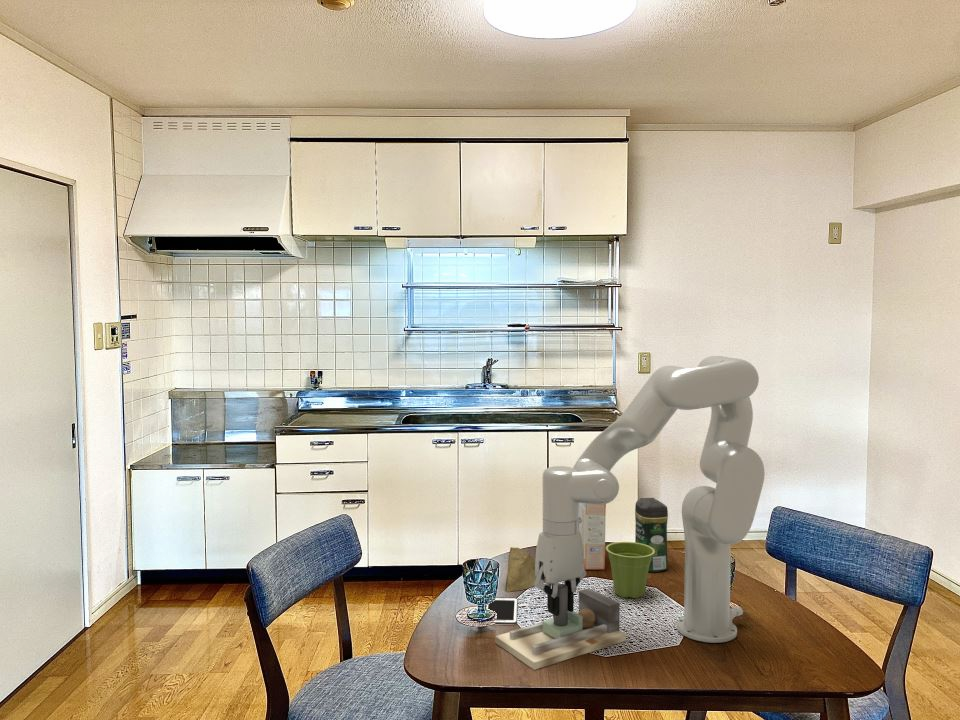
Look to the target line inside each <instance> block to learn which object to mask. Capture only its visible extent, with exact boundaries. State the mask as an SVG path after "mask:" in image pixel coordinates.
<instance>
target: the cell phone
mask: <svg viewBox="0 0 960 720" xmlns="http://www.w3.org/2000/svg"><path fill="white" fill-rule="evenodd" d="M495 597H496V599H495V601H494V602H492V603H490V604H488V605H487V608H488V609H490V610H493V611H495V612H496V613H497V619H495V621H494V622H491V623H496V624H516V623H517V624H518V610H519V609H518V608H519V607H518V606H519V602H518V601H519V600H518V598H517V597H513V596H512V597H507V596H506V597H505V596H504V597H501V596H499V597H498V596H495ZM517 609H518V610H517ZM517 624H516V625H517Z"/></svg>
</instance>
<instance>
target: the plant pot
mask: <svg viewBox="0 0 960 720" xmlns="http://www.w3.org/2000/svg"><path fill="white" fill-rule="evenodd" d="M605 551H607V553H608V559H609V562H610V569H611V575H612V581H613V591H614V593H615V595H617V596H619V597H622V598H631V599H638V598H641V597H643V596H644V595H645V591H646V588H647V581H648V575H649V572H650V571H649V566H650V563H651V559H652V555H653V554H654V553H655V550H654V549H653V548H652V547H650V546H648V545H645V544H641V543H635V542H632V541H619V542H618V541H617V542H612V543H609V544H607V545H605Z"/></svg>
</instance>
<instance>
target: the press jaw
mask: <svg viewBox="0 0 960 720" xmlns="http://www.w3.org/2000/svg"><path fill="white" fill-rule="evenodd" d="M557 597H559V616H555V615H553V614H552V615H553V618H550V619H545V620H542V622H543V632H545V633H546V634H548V635H550V636H551V637H553V638H555V639H556V638H560V637H563V636H566V635H570V634H573V633H576V632H580V631H583V616H581V615H579V614H577V613H576V612H575V611H574V610H573V612H569V611H568V586H567V585H565V584H564V583H558V590H557Z"/></svg>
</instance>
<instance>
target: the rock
mask: <svg viewBox="0 0 960 720" xmlns="http://www.w3.org/2000/svg"><path fill="white" fill-rule="evenodd" d="M509 548H510V549H509V555H508V561H507V562H508V563H507V564H508V565H507V574H506V582H505V591H506V593H510V592H515V591H517V592H518V591H523V590H527V589H530V588H532V587H535V586H534V582H535V579H536V576H535V560H534V559H533V557H532V556H531V554H530V553H528V552H526V551H525V550H523V549H522V548H520V547H512V546H511V547H509ZM543 583H544V584H545V581H544V582H543Z"/></svg>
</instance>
